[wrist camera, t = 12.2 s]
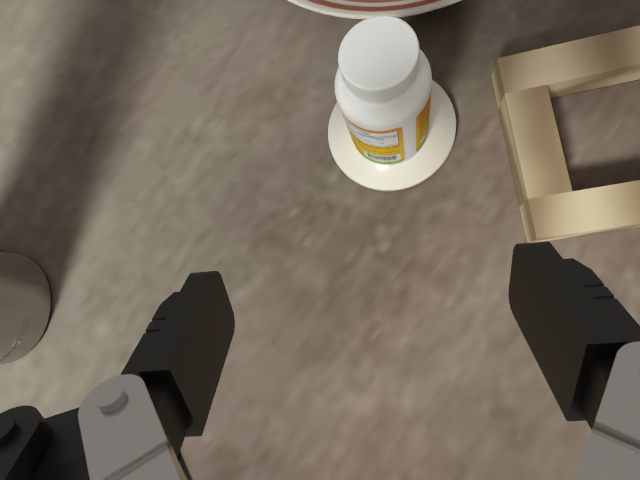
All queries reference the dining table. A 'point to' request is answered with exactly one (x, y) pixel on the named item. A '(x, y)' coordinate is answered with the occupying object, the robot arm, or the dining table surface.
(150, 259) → the dining table surface
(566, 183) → the birch pocket block
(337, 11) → the dinner plate
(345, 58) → the supplement bottle
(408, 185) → the pale ceramic coaster
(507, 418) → the dining table surface
